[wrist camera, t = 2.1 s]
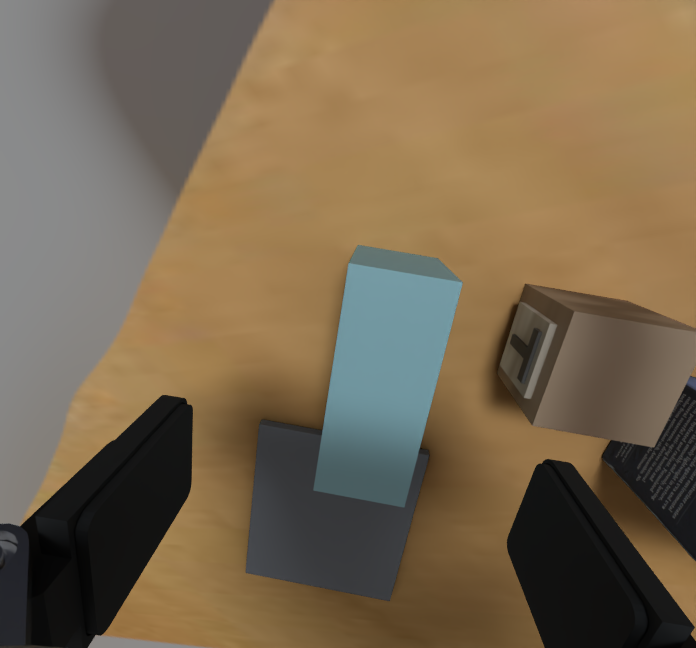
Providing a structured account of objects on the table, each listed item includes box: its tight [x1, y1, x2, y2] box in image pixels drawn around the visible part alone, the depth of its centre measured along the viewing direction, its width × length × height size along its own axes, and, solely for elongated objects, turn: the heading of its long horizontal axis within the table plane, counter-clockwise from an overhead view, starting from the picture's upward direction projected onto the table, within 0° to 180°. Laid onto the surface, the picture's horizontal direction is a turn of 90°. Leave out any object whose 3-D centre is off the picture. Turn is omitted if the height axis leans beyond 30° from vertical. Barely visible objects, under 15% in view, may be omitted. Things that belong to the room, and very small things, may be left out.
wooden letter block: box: [497, 284, 696, 447], centre depth 17 cm, size 6×5×5 cm
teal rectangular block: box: [313, 245, 463, 507], centre depth 17 cm, size 4×10×6 cm, turn 171°
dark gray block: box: [246, 419, 429, 601], centre depth 24 cm, size 10×12×1 cm
